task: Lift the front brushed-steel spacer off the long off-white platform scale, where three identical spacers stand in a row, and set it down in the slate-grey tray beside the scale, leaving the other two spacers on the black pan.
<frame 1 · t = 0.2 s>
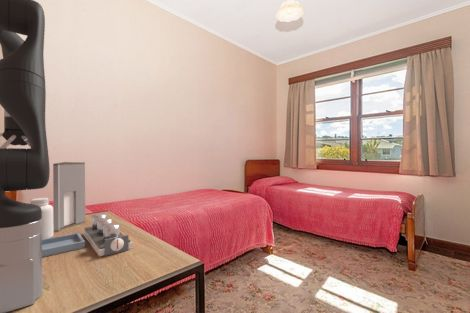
hand: (19, 162, 86), 29 cm above the table, tool pointing down, fingers open, 8 cm apart
tray: (61, 247, 82), on the table
cabinet: (72, 224, 109), on the table
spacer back: (99, 227, 96), point 2 cm above the table, touching scale
scale: (105, 240, 89), on the table
pill bottle: (40, 238, 91), on the table
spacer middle: (104, 233, 89), point 2 cm above the table, touching scale
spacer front: (111, 239, 83), point 2 cm above the table, touching scale
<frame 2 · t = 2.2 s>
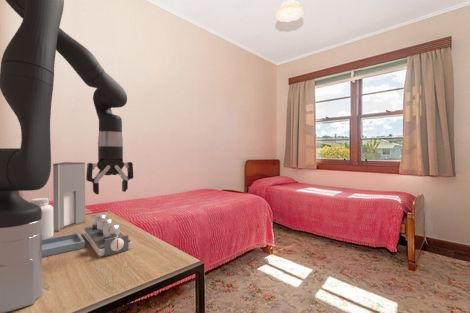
hand: (111, 192, 82), 19 cm above the table, tool pointing down, fingers open, 8 cm apart
nothing on the table moved.
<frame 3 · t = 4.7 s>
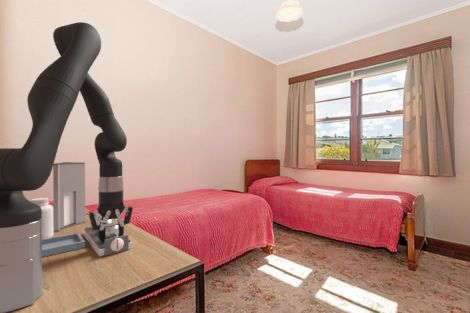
hand: (111, 238, 83), 3 cm above the table, tool pointing down, fingers closed on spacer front, 5 cm apart
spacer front: (111, 239, 83), point 2 cm above the table, touching gripper, scale
everything else where it was.
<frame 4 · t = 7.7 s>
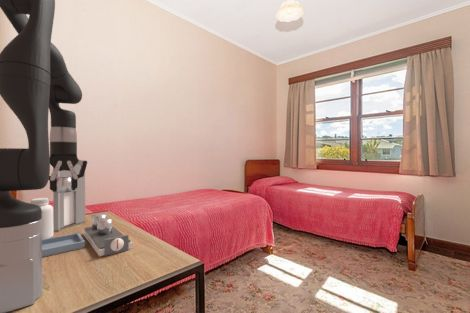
hand: (64, 190, 82), 19 cm above the table, tool pointing down, fingers closed on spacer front, 5 cm apart
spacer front: (63, 191, 82), point 19 cm above the table, touching gripper
everything else where it was.
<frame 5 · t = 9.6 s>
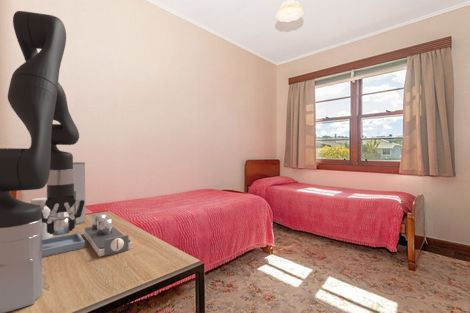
hand: (61, 231, 82), 5 cm above the table, tool pointing down, fingers closed on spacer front, 5 cm apart
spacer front: (61, 232, 82), point 5 cm above the table, touching gripper
everything else where it was.
when the fingers open (3 cm above the table, at t = 11.0 s): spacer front drops 2 cm, resting on tray.
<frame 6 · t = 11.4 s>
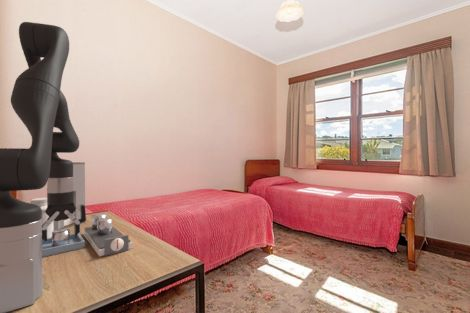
hand: (61, 237, 82), 3 cm above the table, tool pointing down, fingers open, 8 cm apart
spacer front: (61, 245, 82), point 1 cm above the table, touching tray
everything else where it was.
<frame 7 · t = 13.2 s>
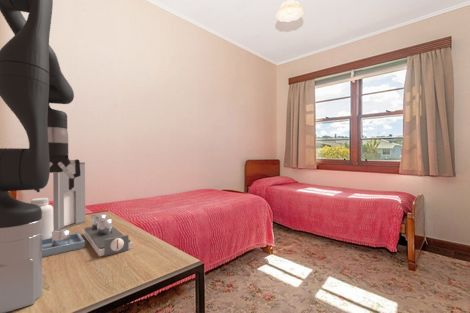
hand: (54, 190, 80), 20 cm above the table, tool pointing down, fingers open, 8 cm apart
nothing on the table moved.
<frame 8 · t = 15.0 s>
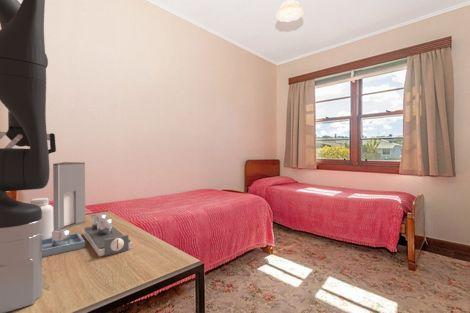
hand: (26, 167, 72), 28 cm above the table, tool pointing down, fingers open, 8 cm apart
nothing on the table moved.
at the end: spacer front 0.1 cm off-centre on the tray, point 0.6 cm above the tray's base; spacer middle 0.0 cm from the target spot on the scale, point 2.5 cm above the scale's base; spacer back 0.0 cm from the target spot on the scale, point 2.5 cm above the scale's base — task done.
